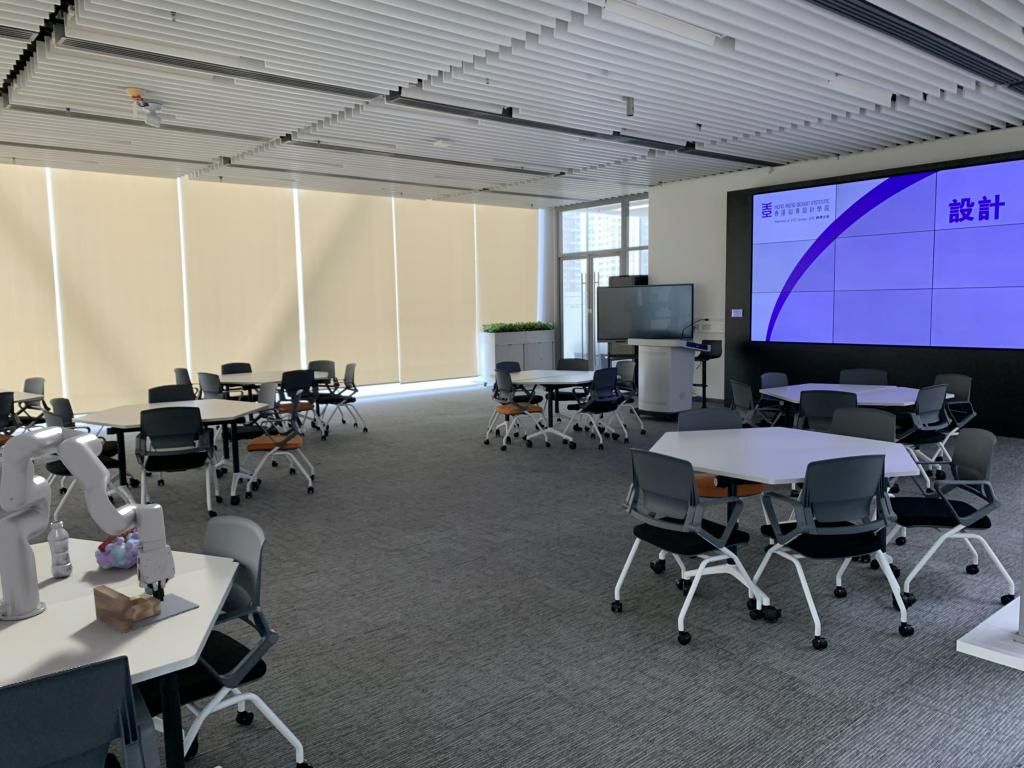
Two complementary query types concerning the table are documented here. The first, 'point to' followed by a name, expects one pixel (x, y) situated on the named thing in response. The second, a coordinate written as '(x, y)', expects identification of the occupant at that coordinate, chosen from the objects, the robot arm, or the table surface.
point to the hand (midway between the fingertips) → (159, 600)
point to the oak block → (144, 606)
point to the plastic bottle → (59, 550)
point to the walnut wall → (113, 608)
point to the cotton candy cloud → (118, 550)
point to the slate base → (164, 611)
